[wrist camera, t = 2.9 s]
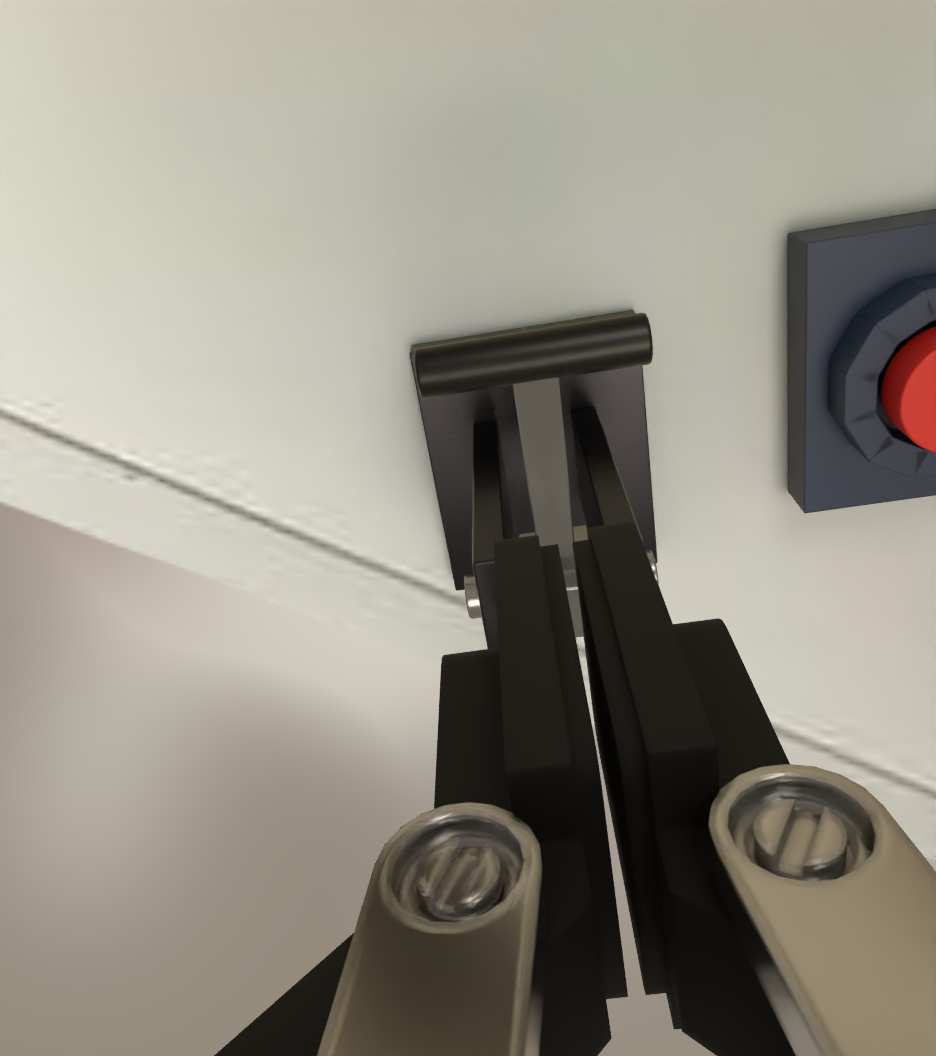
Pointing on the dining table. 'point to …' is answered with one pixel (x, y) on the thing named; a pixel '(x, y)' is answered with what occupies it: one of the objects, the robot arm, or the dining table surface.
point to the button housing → (855, 358)
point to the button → (913, 389)
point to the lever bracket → (500, 476)
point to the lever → (540, 405)
